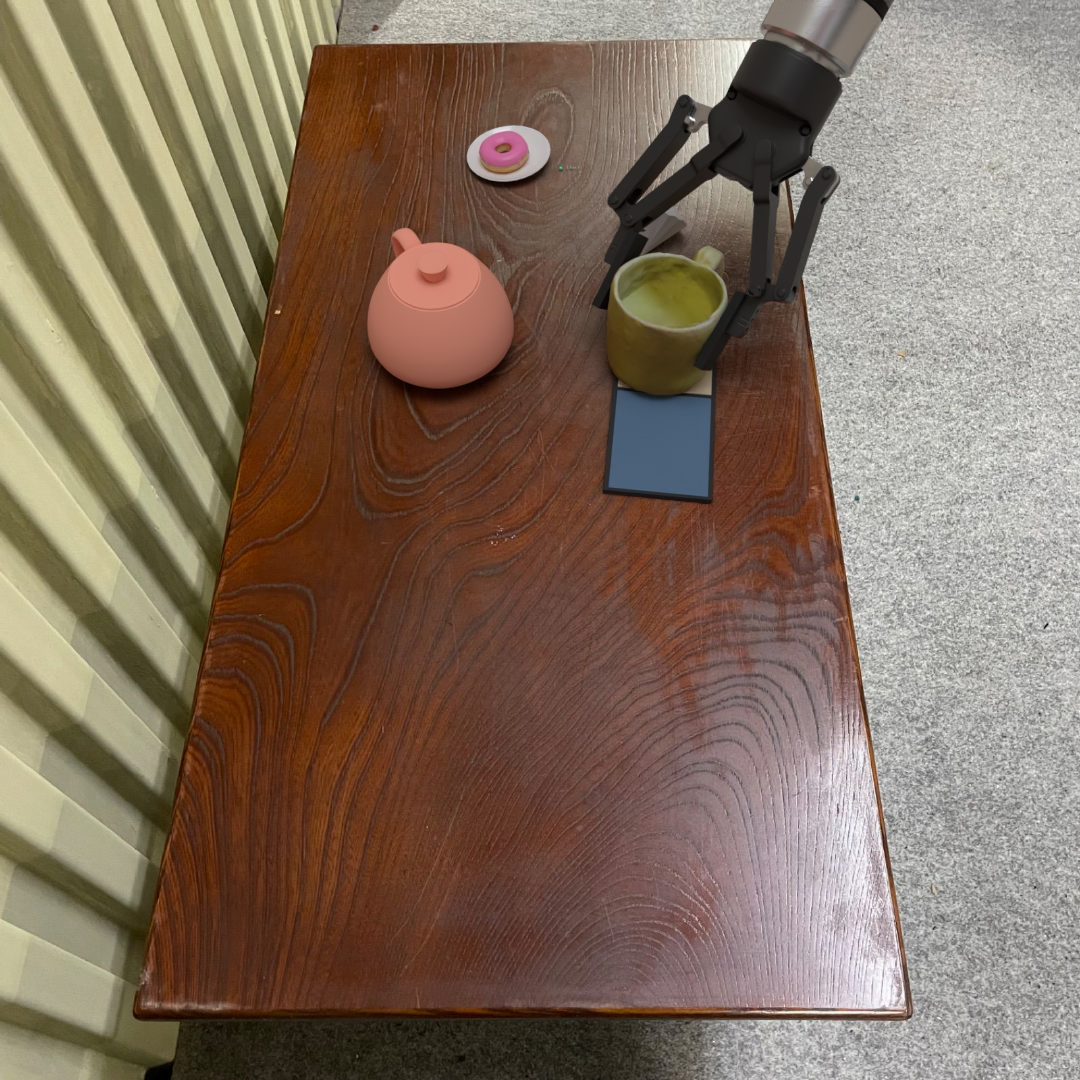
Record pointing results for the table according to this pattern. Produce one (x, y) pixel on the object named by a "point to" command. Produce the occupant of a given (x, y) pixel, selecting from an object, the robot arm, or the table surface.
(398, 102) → the table surface
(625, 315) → the mug
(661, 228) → the gemstone
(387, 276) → the sugar bowl
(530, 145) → the donut
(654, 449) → the sorting mat
